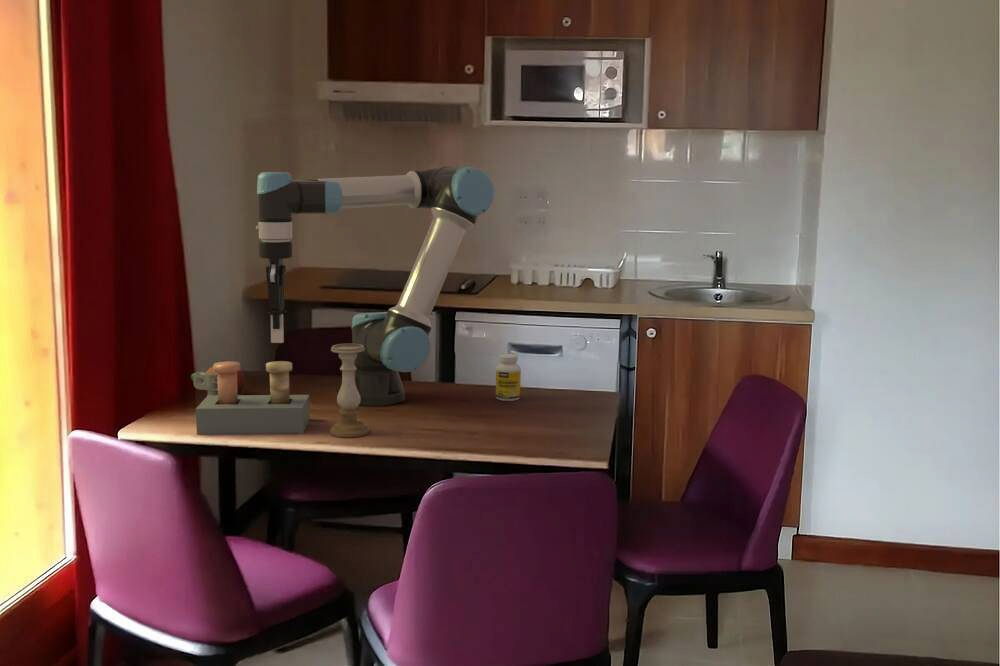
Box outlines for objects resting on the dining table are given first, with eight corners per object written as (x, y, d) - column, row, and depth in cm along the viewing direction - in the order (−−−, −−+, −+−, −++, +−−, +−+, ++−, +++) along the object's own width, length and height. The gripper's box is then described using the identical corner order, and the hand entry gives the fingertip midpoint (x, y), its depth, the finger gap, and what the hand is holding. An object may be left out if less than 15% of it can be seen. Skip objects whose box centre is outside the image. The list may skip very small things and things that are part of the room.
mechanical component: (229, 416, 249) (228, 376, 247) (191, 413, 251) (189, 373, 249) (235, 413, 252) (233, 373, 250) (197, 410, 254) (195, 371, 252)
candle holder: (371, 436, 232) (370, 349, 229) (332, 439, 230) (331, 350, 226) (365, 426, 240) (364, 342, 237) (327, 429, 238) (326, 343, 234)
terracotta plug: (243, 400, 241) (242, 361, 240) (238, 406, 236) (237, 366, 234) (217, 400, 241) (216, 361, 239) (212, 407, 235) (210, 366, 233)
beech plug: (294, 400, 242) (293, 361, 241) (291, 406, 236) (290, 366, 235) (269, 400, 242) (267, 361, 240) (265, 406, 236) (264, 366, 234)
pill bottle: (491, 400, 268) (492, 356, 266) (501, 395, 274) (501, 352, 272) (514, 402, 265) (515, 358, 263) (523, 397, 271) (524, 354, 269)
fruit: (250, 399, 266) (249, 362, 264) (213, 404, 260) (211, 366, 258) (236, 391, 274) (235, 355, 273) (199, 396, 269) (198, 359, 267)
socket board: (309, 418, 247) (309, 394, 246) (303, 433, 234) (302, 407, 233) (208, 419, 245) (207, 395, 244) (196, 434, 232) (195, 408, 231)
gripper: (263, 238, 239) (265, 337, 243) (253, 242, 226) (256, 347, 230) (295, 238, 239) (297, 337, 243) (288, 242, 226) (290, 347, 230)
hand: (277, 342), depth 237 cm, fingers closed
